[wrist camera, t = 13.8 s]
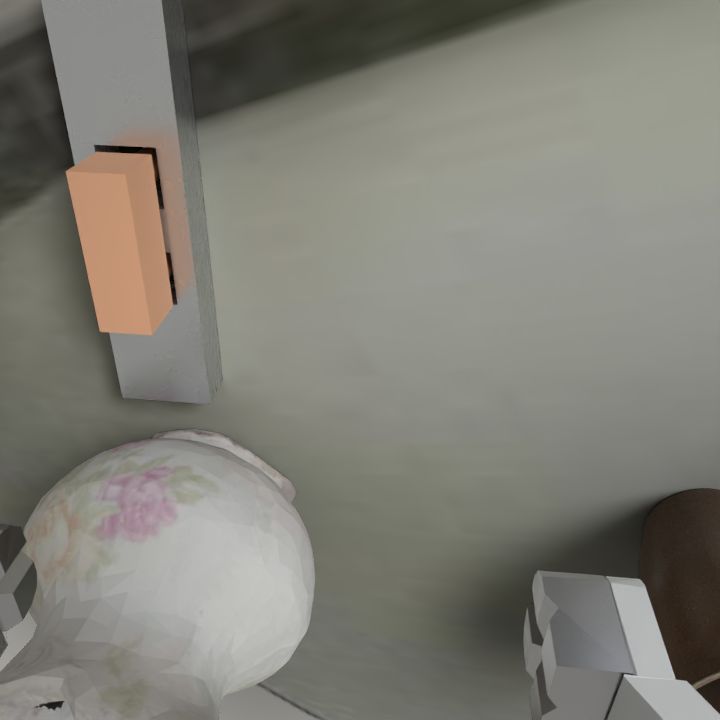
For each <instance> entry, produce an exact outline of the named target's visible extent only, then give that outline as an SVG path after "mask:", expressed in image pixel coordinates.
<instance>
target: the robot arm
mask: <svg viewBox="0 0 720 720" xmlns="http://www.w3.org/2000/svg"><path fill="white" fill-rule="evenodd" d="M26 542H27V541H26V539H25V536H24V534H23V531H22V529H21V527H18V526H13V525H6V524H0V657H1V655H2V653H3V651H4V650H5V649H6V647H7V645H8V644H7V637H6V631H7V630H9V629H10V628H12V627H13V626H15V625H16V624H18V623H19V622H21V621H22V620H23V619H24V617H25V615H26V613H27V612H28V610H29V609H30V607H31V605H32V603H33V599H34V595H35V592H36V588H37V571H36V567H35V564H34V561H33V560H32V559H30V558H29V557H28V556H27V555H26V554H25V553H23V552H22V551H21V549H22V548H23V546H24V545H25V543H26ZM532 592H533V599H534V602H533V603H532V604H530V605H529V606H527V611H526V616H525V622H524V637H523V642H524V658H525V667H526V671H527V672H528V673H529V674H530V675H531V677H532V678H533V679H534V681H533V685H532V689H531V693H530V697H529V700H530V708H531V716H532V720H720V714H719V713H718V712H717V711H716V710H715V709H714V708H713V707H712V706H711V705H710V704H709V703H708V702H707V701H706V700H705V699H704V698H703V697H702V696H701V695H700V694H699V693H698V692H697V691H696V690H695V689H694V688H693V687H692V686H691V685H690V684H689V683H688V682H687V681H684V680H677V679H675V675H674V672H673V669H672V666H671V663H670V660H669V657H668V654H667V651H666V648H665V645H664V642H663V639H662V636H661V633H660V630H659V627H658V624H657V620H656V617H655V614H654V611H653V608H652V605H651V602H650V599H649V596H648V593H647V590H646V587H645V585H644V583H643V582H642V581H641V580H640V579H633V578H622V577H610V576H605V577H604V576H602V575H590V574H577V573H564V572H551V571H537V573H536V574H535V576H534V580H533V584H532Z"/></svg>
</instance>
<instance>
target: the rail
mask: <svg viewBox="0 0 720 720" xmlns="http://www.w3.org/2000/svg"><path fill="white" fill-rule="evenodd" d="M41 3H42V8H43V13H44V17H45V22H46V27H47V32H48V37H49V42H50V47H51V52H52V56H53V61H54V66H55V71H56V76H57V81H58V86H59V91H60V95H61V100H62V105H63V110H64V115H65V120H66V125H67V130H68V134H69V139H70V144H71V149H72V154H73V159H74V164H75V165H76V164H78V163H80V162H81V161H83V160H84V159H86V158H87V157H89V156H91V155H92V154H94V153H95V152H109V153H120V150H119V146H132V147H153V148H156V154H157V161H158V168H159V175H160V182H161V189H162V191H157V197H158V204H159V211H160V218H161V225H162V232H163V239H164V246H165V252H167V253H170V254H171V261H172V268H173V275H174V282H170V288H171V295H172V302H173V307H172V308H171V310H170V311H169V313H168V314H167V315H166V317H165V318H164V320H163V321H162V322H161V324H160V325H159V327H158V328H157V329H156V331H155V332H154V334H153V335H139V334H125V333H110V332H109V334H110V339H111V344H112V349H113V354H114V359H115V364H116V368H117V373H118V378H119V383H120V388H121V393H122V398H133V399H146V400H159V401H173V402H186V403H199V404H211V402H212V400H213V398H214V396H215V394H216V392H217V390H218V388H219V386H220V384H221V382H222V380H223V378H222V368H221V359H220V350H219V340H218V331H217V321H216V312H215V303H214V293H213V284H212V275H211V265H210V256H209V246H208V237H207V228H206V218H205V209H204V199H203V190H202V181H201V171H200V162H199V153H198V143H197V134H196V124H195V115H194V106H193V96H192V87H191V77H190V68H189V59H188V49H187V40H186V31H185V21H184V12H183V2H182V0H41Z"/></svg>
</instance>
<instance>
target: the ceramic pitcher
mask: <svg viewBox="0 0 720 720" xmlns="http://www.w3.org/2000/svg"><path fill="white" fill-rule="evenodd" d="M295 495H296V491H295V489H294V487H293V485H292V483H291V481H289V480H288V479H286V478H285V477H284V476H282V475H281V474H280V473H278V472H277V471H275V470H274V469H273V468H271V467H270V466H269V465H268V464H266V463H265V462H264V461H262V460H261V459H260V458H258V457H257V456H256V455H254V454H253V453H251V452H250V451H248V450H247V449H245V448H244V447H242V446H241V445H239V444H238V443H236V442H235V441H233V440H232V439H230V438H229V437H227V436H224V435H222V434H219V433H214V432H209V431H204V430H198V429H187V430H175V431H169V432H161V433H155V435H154V436H153V438H152V439H146V440H141V441H136V442H131V443H127V444H124V445H121V446H118V447H115V448H112V449H110V450H107V451H104V452H101V453H99V454H98V455H96V456H94V457H92V458H91V459H89V460H87V461H85V462H84V463H82V464H80V465H79V466H77V467H76V468H75V469H73V470H72V471H71V472H70V473H68V474H67V475H66V476H65V477H63V478H62V479H61V480H60V481H58V482H57V483H56V484H55V485H54V486H53V487H52V488H51V489H50V490H49V491H48V492H47V493H46V494H45V495H44V496H43V497H42V499H41V500H40V502H39V503H38V505H37V506H36V508H35V509H34V511H33V513H32V514H31V516H30V518H29V520H28V522H27V524H26V525H25V528H24V532H23V534H24V536H25V539H26V541H27V542H26V543H25V545H24V546H23V548H22V549H21V551H22V552H23V553H25V554H26V555H27V556H28V557H29V558H30V559H32V560H33V561H34V564H35V567H36V571H37V588H36V592H35V595H34V599H33V603H32V605H31V607H30V609H29V610H28V611H29V612H30V614H31V615H32V617H33V619H34V620H35V622H36V624H37V627H36V630H35V633H34V636H33V638H32V639H31V640H30V641H29V642H28V643H27V645H26V646H25V647H24V648H23V649H22V650H21V651H20V652H19V653H18V654H17V655H16V656H15V657H14V658H13V659H12V660H11V661H10V663H8V664H7V665H6V667H5V668H4V669H3V670H2V671H1V672H0V720H219V713H220V707H221V702H222V698H223V697H224V696H225V695H226V694H230V693H234V692H237V691H239V690H242V689H245V688H247V687H250V686H253V685H256V684H257V683H259V682H261V681H263V680H264V679H266V678H268V677H269V676H271V675H273V674H274V673H275V672H277V671H278V670H279V669H280V668H281V667H282V666H283V665H284V664H285V663H287V662H288V661H289V659H290V657H291V656H292V654H293V653H294V651H295V649H296V648H297V646H298V644H299V643H300V641H301V640H302V638H303V636H304V635H305V633H306V631H307V628H308V625H309V622H310V617H311V611H312V604H313V598H314V585H315V571H314V560H313V552H312V547H311V543H310V540H309V536H308V533H307V530H306V528H305V526H304V524H303V522H302V520H301V518H300V516H299V514H298V512H297V511H296V509H295V508H294V507H293V505H292V504H291V503H292V501H293V499H294V497H295Z"/></svg>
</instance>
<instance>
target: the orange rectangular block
mask: <svg viewBox="0 0 720 720" xmlns="http://www.w3.org/2000/svg"><path fill="white" fill-rule="evenodd" d="M66 175H67V180H68V184H69V189H70V194H71V198H72V203H73V208H74V213H75V217H76V222H77V227H78V231H79V236H80V241H81V245H82V250H83V255H84V259H85V264H86V269H87V274H88V278H89V283H90V288H91V292H92V297H93V302H94V306H95V311H96V316H97V320H98V325H99V330H100V332H110V333H125V334H139V335H153V334H154V332H155V331H156V329H157V328H158V327H159V325H160V324H161V322H162V321H163V320H164V318H165V317H166V315H167V314H168V313H169V311H170V310H171V308H172V307H173V302H172V295H171V288H170V281H169V277H170V275H171V274H172V273H173V268H172V261H171V254H170V253H167V252H165V246H164V239H163V232H162V225H161V218H160V211H159V204H158V197H157V190H156V183H155V181H156V180H158V179H159V178H160V175H159V168H158V161H157V154H156V149H155V148H152V147H146V148H143V149H141V150H140V151H139V152H137V153H136V154H130V153H109V152H95V153H94V154H92V155H91V156H89V157H87V158H86V159H84V160H83V161H81V162H80V163H78V164H76V165H75V166H73V167H72V168H70V169H69V170H67V171H66Z"/></svg>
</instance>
